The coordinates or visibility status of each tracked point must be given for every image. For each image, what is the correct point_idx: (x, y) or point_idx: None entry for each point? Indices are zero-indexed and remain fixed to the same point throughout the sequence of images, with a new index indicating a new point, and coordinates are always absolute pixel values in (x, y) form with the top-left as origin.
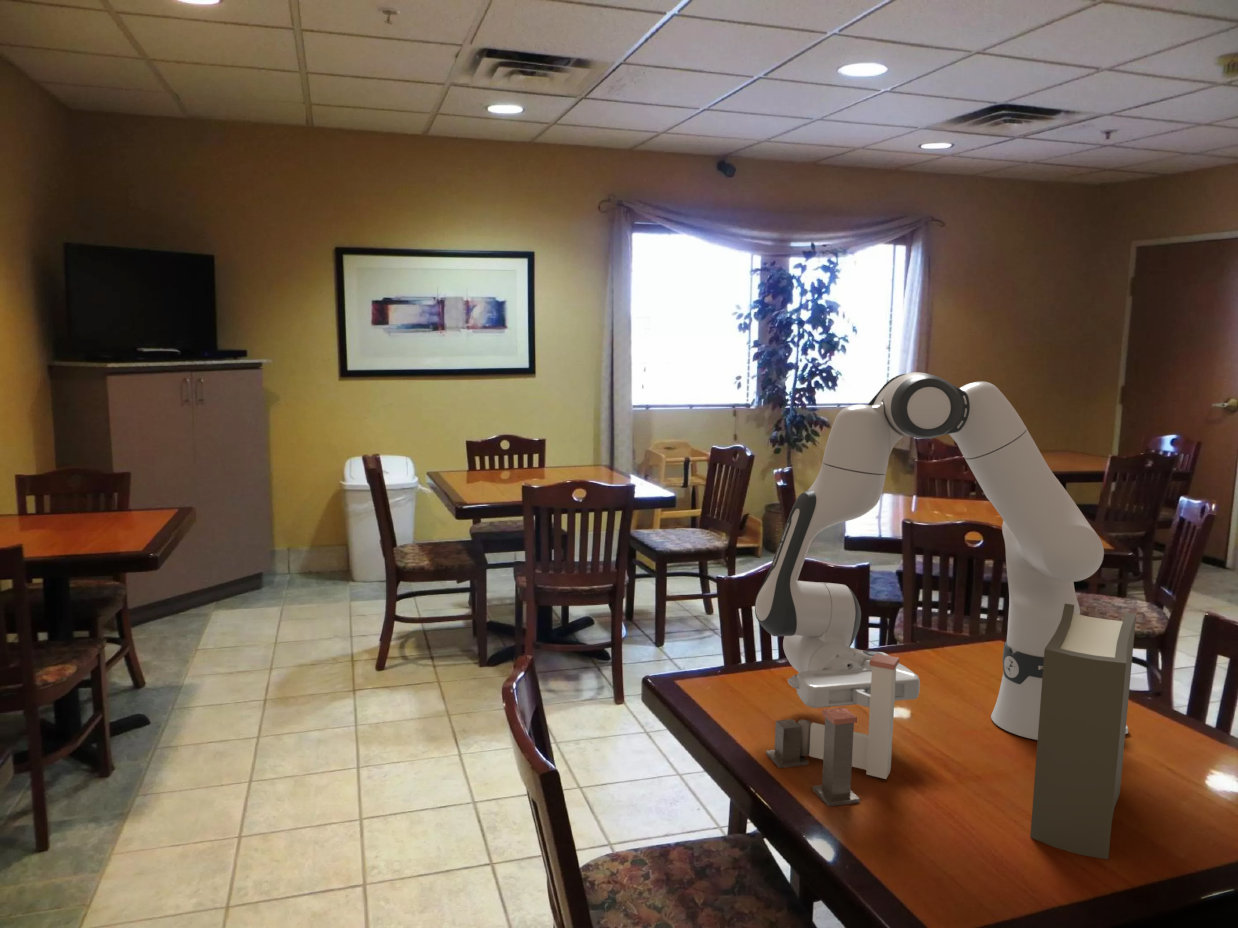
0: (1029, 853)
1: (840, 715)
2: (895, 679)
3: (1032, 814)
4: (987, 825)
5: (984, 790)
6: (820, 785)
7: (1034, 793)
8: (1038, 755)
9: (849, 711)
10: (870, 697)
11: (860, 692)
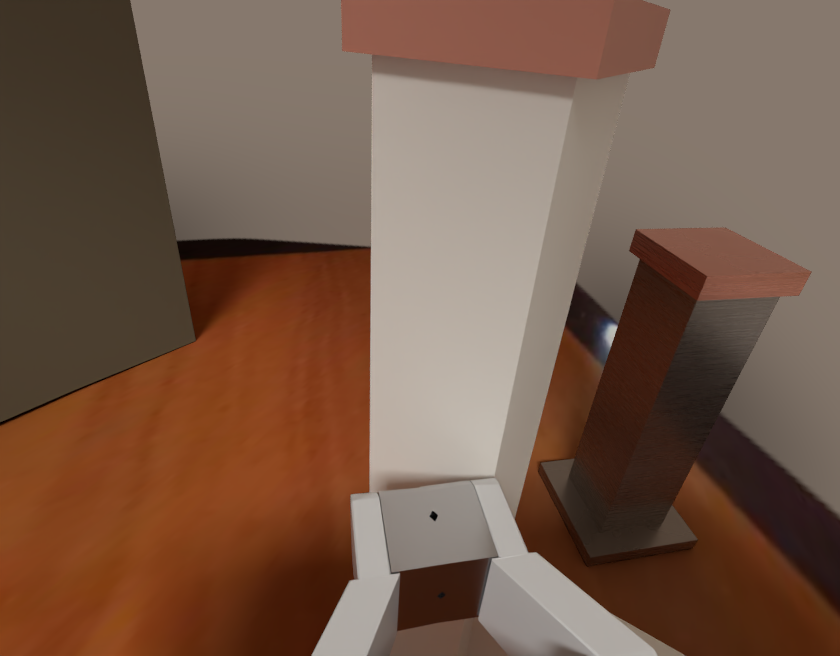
0: (246, 312)
1: (709, 241)
2: (374, 225)
3: (186, 295)
4: (251, 373)
5: (86, 509)
6: (670, 542)
7: (177, 246)
8: (157, 147)
9: (675, 254)
10: (562, 329)
11: (615, 630)
